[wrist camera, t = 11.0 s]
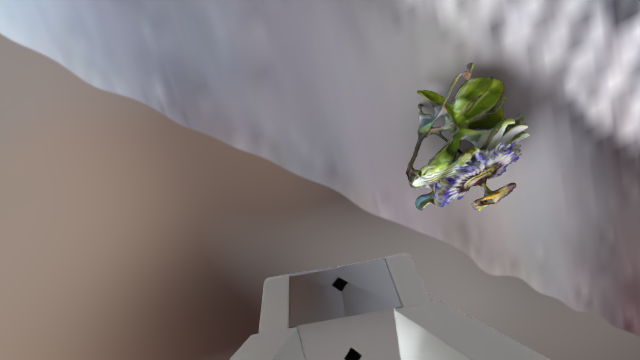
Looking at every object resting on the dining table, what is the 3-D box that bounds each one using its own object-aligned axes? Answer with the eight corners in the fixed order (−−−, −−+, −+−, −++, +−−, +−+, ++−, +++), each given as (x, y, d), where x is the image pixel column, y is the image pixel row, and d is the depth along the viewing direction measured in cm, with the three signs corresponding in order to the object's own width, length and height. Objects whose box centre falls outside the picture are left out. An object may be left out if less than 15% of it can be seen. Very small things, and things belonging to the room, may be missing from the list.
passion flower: (440, 147, 47) (431, 239, 40) (381, 84, 41) (359, 177, 35) (545, 108, 39) (556, 214, 32) (488, 25, 34) (487, 130, 27)
